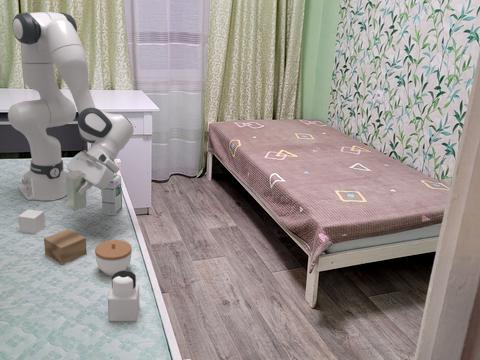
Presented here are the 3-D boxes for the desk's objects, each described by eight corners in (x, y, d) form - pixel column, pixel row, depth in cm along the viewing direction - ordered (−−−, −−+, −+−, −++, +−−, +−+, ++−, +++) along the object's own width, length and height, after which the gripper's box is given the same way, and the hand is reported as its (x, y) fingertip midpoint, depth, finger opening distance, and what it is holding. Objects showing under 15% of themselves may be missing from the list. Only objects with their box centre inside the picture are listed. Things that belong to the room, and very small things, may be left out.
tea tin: (66, 206, 166) (65, 173, 162) (79, 202, 170) (78, 170, 165) (74, 211, 163) (72, 177, 159) (87, 207, 167) (86, 174, 162)
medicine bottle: (113, 305, 134) (111, 267, 130) (139, 305, 135) (139, 267, 130) (108, 321, 127) (107, 282, 123) (136, 322, 128) (136, 282, 124)
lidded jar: (100, 283, 144) (99, 254, 140) (92, 265, 152) (91, 238, 149) (136, 275, 148) (135, 248, 145) (126, 258, 157) (126, 232, 154)
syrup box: (116, 216, 186) (115, 180, 180) (101, 213, 187) (100, 178, 181) (122, 210, 191) (121, 175, 186) (108, 208, 192) (107, 173, 187)
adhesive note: (35, 234, 168) (34, 218, 166) (19, 232, 169) (18, 216, 167) (45, 226, 174) (43, 211, 172) (29, 224, 175) (27, 209, 173)
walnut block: (45, 255, 156) (43, 238, 154) (69, 245, 163) (68, 229, 161) (62, 265, 152) (61, 247, 149) (86, 254, 158) (85, 237, 156)
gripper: (77, 143, 171) (52, 175, 168) (110, 161, 158) (84, 195, 155) (89, 153, 176) (65, 184, 172) (122, 171, 163) (97, 205, 160)
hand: (74, 190), depth 164 cm, fingers closed on tea tin, 4 cm apart
